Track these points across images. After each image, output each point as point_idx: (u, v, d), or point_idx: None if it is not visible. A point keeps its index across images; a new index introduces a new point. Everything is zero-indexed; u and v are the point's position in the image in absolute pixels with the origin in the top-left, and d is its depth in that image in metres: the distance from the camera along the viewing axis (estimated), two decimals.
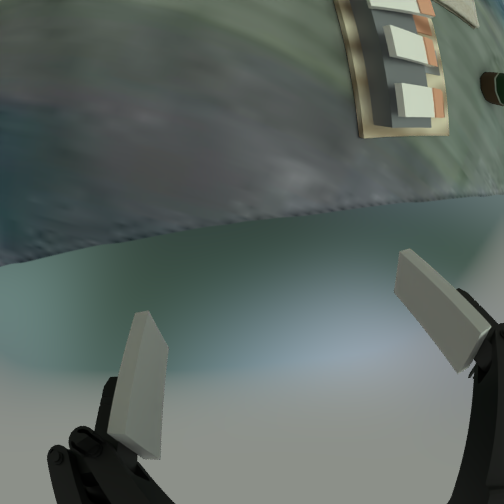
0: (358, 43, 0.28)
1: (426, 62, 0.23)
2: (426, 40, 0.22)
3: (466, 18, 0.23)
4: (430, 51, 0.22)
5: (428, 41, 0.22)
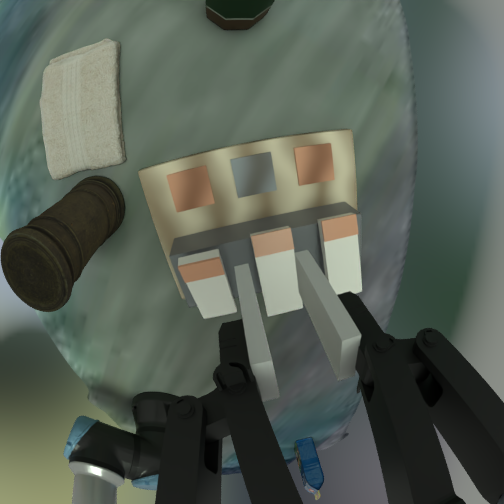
0: None
1: (292, 252, 0.30)
2: (259, 252, 0.30)
3: (115, 72, 0.24)
4: (273, 245, 0.30)
5: (258, 247, 0.29)
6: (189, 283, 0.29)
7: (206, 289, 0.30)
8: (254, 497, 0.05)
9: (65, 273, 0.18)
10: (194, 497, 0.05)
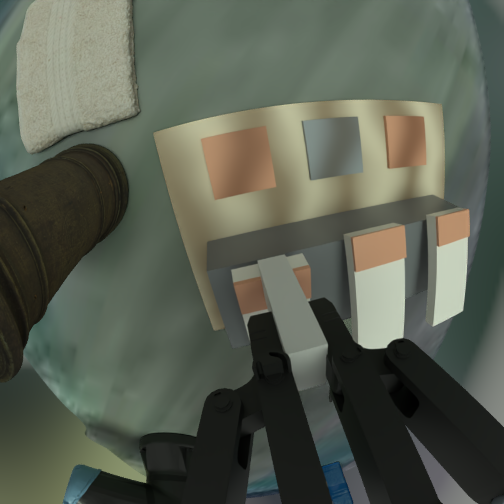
0: None
1: (402, 262, 0.18)
2: (362, 263, 0.17)
3: None
4: (382, 251, 0.17)
5: (362, 256, 0.17)
6: (248, 315, 0.17)
7: None
8: (283, 489, 0.05)
9: None
10: (225, 493, 0.05)
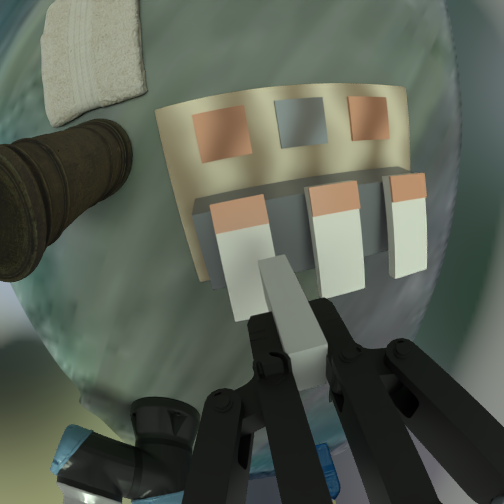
0: None
1: (357, 213, 0.22)
2: (318, 209, 0.21)
3: None
4: (336, 201, 0.21)
5: (318, 203, 0.21)
6: (221, 239, 0.22)
7: (243, 254, 0.22)
8: (283, 489, 0.05)
9: (35, 211, 0.10)
10: (225, 493, 0.05)
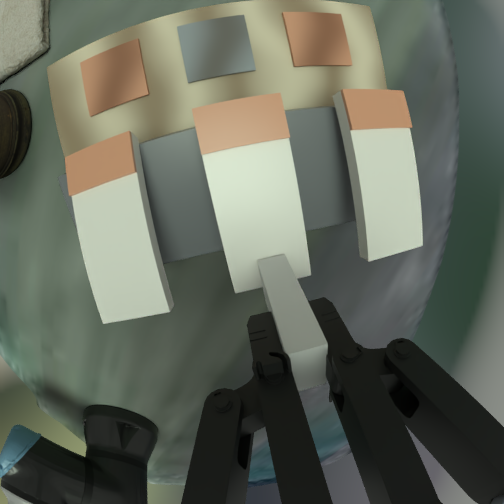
0: None
1: (286, 146, 0.13)
2: (210, 142, 0.12)
3: None
4: (242, 126, 0.12)
5: (209, 132, 0.12)
6: (77, 203, 0.13)
7: (103, 223, 0.13)
8: (283, 489, 0.05)
9: None
10: (225, 493, 0.05)
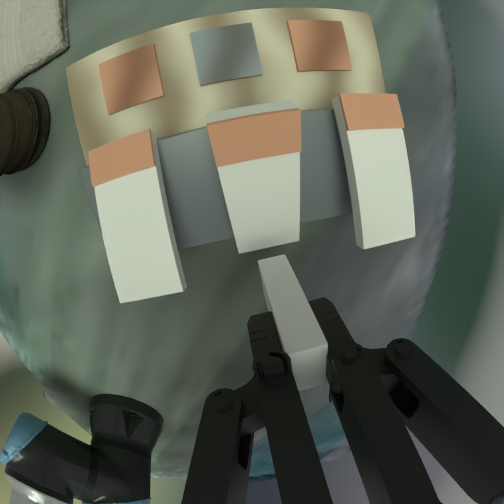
0: None
1: (296, 156, 0.14)
2: (225, 156, 0.13)
3: None
4: (257, 142, 0.12)
5: (224, 148, 0.12)
6: (99, 193, 0.15)
7: (124, 211, 0.15)
8: (283, 489, 0.05)
9: None
10: (225, 493, 0.05)
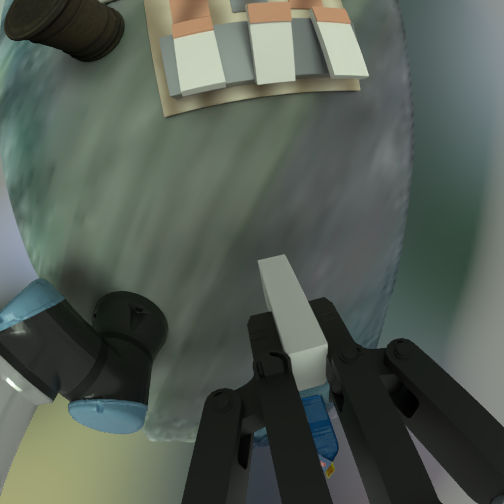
0: (257, 85, 0.31)
1: (289, 24, 0.20)
2: (254, 18, 0.19)
3: None
4: (270, 13, 0.19)
5: (254, 14, 0.19)
6: (176, 41, 0.21)
7: (193, 47, 0.21)
8: (283, 489, 0.05)
9: None
10: (225, 493, 0.05)
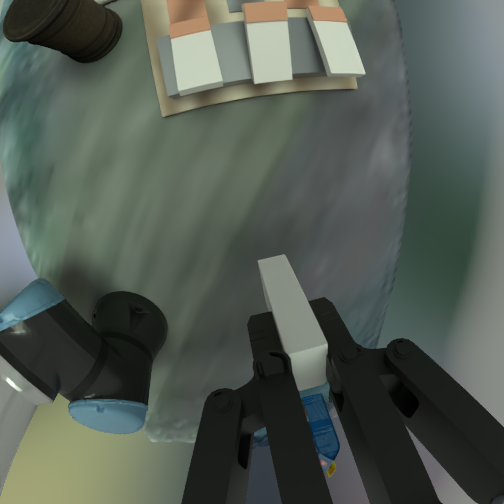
0: (254, 85, 0.31)
1: (285, 23, 0.20)
2: (251, 18, 0.19)
3: None
4: (266, 13, 0.19)
5: (251, 14, 0.19)
6: (174, 41, 0.21)
7: (190, 47, 0.21)
8: (283, 489, 0.05)
9: None
10: (225, 493, 0.05)
